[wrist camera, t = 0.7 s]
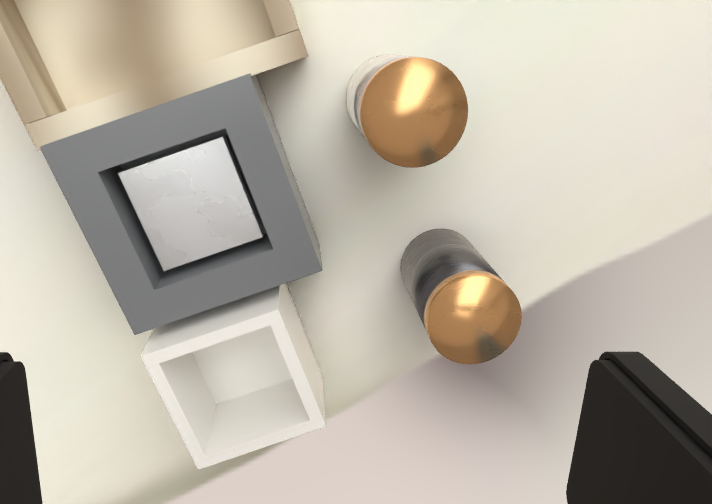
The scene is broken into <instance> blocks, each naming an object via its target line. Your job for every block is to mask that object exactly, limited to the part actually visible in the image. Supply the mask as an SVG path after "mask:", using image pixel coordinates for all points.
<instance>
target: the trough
mask: <svg viewBox="0 0 712 504" xmlns="http://www.w3.org/2000/svg"><path fill="white" fill-rule="evenodd" d="M307 56H308V54H307V51H306V48H305V45H304V42H303V39H302V36H301V33H300V30H299V27H298V24H297V21H296V18H295V15H294V12H293V9H292V7H291V4H290V1H289V0H0V78H1V80H2V82H3V84H4V86H5V88H6V90H7V92H8V94H9V96H10V98H11V100H12V102H13V104H14V106H15V108H16V110H17V112H18V114H19V116H20V118H21V120H22V122H23V124H24V126H25V127H26V129H27V131H28V133H29V135H30V137H31V139H32V141H33V143H34V145H35V147H36V149H37V150H40V146H43V145H45V144H48V143H51V142H54V141H56V140H59V139H62V138H65V137H68V136H71V135H74V134H77V133H79V132H82V131H85V130H88V129H91V128H94V127H97V126H100V125H102V124H105V123H108V122H111V121H114V120H117V119H120V118H123V117H125V116H128V115H131V114H134V113H137V112H140V111H143V110H146V109H148V108H151V107H154V106H157V105H160V104H163V103H166V102H168V101H171V100H174V99H177V98H180V97H183V96H186V95H189V94H191V93H194V92H197V91H200V90H203V89H206V88H209V87H212V86H214V85H217V84H220V83H223V82H226V81H229V80H232V79H235V78H237V77H240V76H243V75H246V74H249V73H251V76H253V75H256V74H259V73H261V72H264V71H267V70H270V69H273V68H276V67H279V66H281V65H284V64H287V63H290V62H293V61H296V60H299V59H302V58H304V57H307ZM28 123H30V124H28ZM25 124H27V125H25Z"/></svg>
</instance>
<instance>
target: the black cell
mask: <svg viewBox="0 0 712 504" xmlns="http://www.w3.org/2000/svg"><path fill="white" fill-rule="evenodd" d="M401 275H402V278H403V281H404V283H405V285H406V287H407V290H408V292H409V294H410V296H411V298H412V300H413V303H414V305H415V307H416V309H417V311H418V314H419V316H420V318H421V320H422V322H423V324H424V327H425V329H426V331H427V333H428V335H429V338H430V340H431V342H432V344H433V345H434V347H435V348H436V349H437V351H438V352H439V353H440V354H441V355H443V356H444V357H446V358H447V359H450V360H452V361H454V362H457V363H462V364H478V363H483V362H486V361H489V360H491V359H493V358H495V357H497V356H498V355H500V354H501V353H503V352H504V351H505V350H506V349H507V348H508V347H509V346H510V345H511V344H512V342H513V341H514V339H515V338H516V336H517V334H518V331H519V328H520V324H521V308H520V304H519V301H518V299H517V297H516V295H515V294H514V293H513V291H512V290H511V289H510V288H509V287H508V286H507V284H506V283H505V282H504V281H503V280H502V279H501V278H500V277H499V275H498V274H497V273H496V272H495V271H494V270H493V269H492V267H491V266H490V265H489V264H488V263H487V262H486V261H485V259H484V258H483V257H482V256H481V255H480V254H479V253H478V252H477V250H476V249H475V248H474V247H473V246H472V245H471V244H470V242H469V241H468V240H467V239H466V238H465V237H464V236H462V235H461V234H459V233H457V232H455V231H453V230H449V229H433V230H429V231H427V232H424V233H422V234H420V235H419V236H417V237H416V238H415V239H414V240H412V241H411V242H410V244H409V245H408V246H407V248H406V249H405V251H404V254H403V256H402V260H401Z"/></svg>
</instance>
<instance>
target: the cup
mask: <svg viewBox="0 0 712 504" xmlns="http://www.w3.org/2000/svg"><path fill="white" fill-rule="evenodd" d="M140 357H141V359H142V361H143V363H144V365H145V367H146V369H147V370H148V372H149V374H150V376H151V378H152V380H153V382H154V384H155V386H156V388H157V390H158V392H159V394H160V396H161V398H162V400H163V402H164V404H165V406H166V408H167V410H168V412H169V414H170V416H171V418H172V420H173V422H174V424H175V425H176V427H177V429H178V431H179V433H180V435H181V437H182V439H183V441H184V443H185V445H186V447H187V449H188V451H189V453H190V455H191V457H192V459H193V461H194V463H195V465H196V467H197V469H198V470H199V469H202V468H205V467H208V466H211V465H214V464H217V463H220V462H223V461H226V460H228V459H231V458H234V457H237V456H240V455H243V454H246V453H249V452H252V451H255V450H258V449H261V448H264V447H267V446H270V445H273V444H276V443H279V442H282V441H285V440H288V439H290V438H293V437H296V436H299V435H302V434H305V433H308V432H311V431H314V430H317V429H320V428H323V427H326V418H325V406H324V394H323V382H322V372H321V370H320V367H319V365H318V362H317V360H316V357H315V355H314V352H313V350H312V347H311V345H310V342H309V340H308V337H307V335H306V332H305V330H304V327H303V325H302V322H301V320H300V317H299V315H298V312H297V310H296V307H295V305H294V302H293V300H292V297H291V295H290V292H289V289H288V287H287V284H286V283H285V284H282V285H279V286H276V287H273V288H270V289H267V290H264V291H262V292H259V293H256V294H253V295H250V296H247V297H244V298H241V299H238V300H235V301H232V302H229V303H227V304H224V305H221V306H218V307H215V308H212V309H209V310H206V311H203V312H200V313H197V314H194V315H192V316H189V317H186V318H183V319H180V320H177V321H174V322H171V323H168V324H165V325H162V326H159V327H156V328H154V330H153V332H152V334H151V336H150V338H149V340H148V342H147V344H146V346H145V348H144V350H143V352H142V354H141V356H140Z"/></svg>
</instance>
